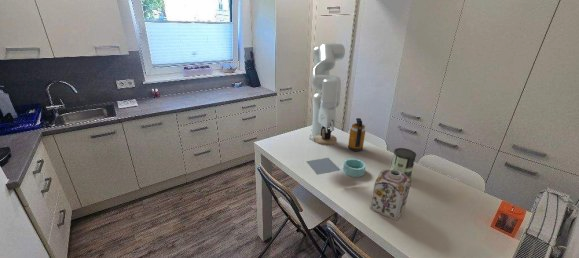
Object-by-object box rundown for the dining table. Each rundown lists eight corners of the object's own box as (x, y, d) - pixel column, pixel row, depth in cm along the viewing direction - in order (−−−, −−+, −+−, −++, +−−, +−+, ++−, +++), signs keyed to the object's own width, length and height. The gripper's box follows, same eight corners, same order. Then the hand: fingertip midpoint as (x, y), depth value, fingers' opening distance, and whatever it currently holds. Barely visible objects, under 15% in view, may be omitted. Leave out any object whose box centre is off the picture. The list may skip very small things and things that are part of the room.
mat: (306, 162, 141) (306, 161, 141) (328, 158, 146) (328, 157, 146) (317, 175, 129) (317, 174, 129) (340, 170, 134) (340, 169, 134)
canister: (361, 146, 162) (365, 117, 154) (364, 154, 152) (369, 123, 144) (347, 145, 163) (350, 116, 155) (349, 153, 153) (353, 122, 145)
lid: (309, 136, 135) (310, 126, 133) (329, 133, 139) (330, 124, 137) (320, 147, 125) (321, 136, 122) (340, 143, 129) (342, 132, 126)
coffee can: (407, 172, 134) (413, 148, 129) (412, 183, 125) (418, 158, 120) (387, 169, 136) (392, 146, 131) (390, 180, 127) (396, 156, 121)
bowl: (339, 168, 136) (339, 160, 134) (356, 165, 140) (357, 157, 138) (350, 179, 127) (351, 171, 125) (368, 175, 130) (369, 167, 128)
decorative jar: (379, 195, 115) (386, 161, 108) (405, 207, 109) (414, 171, 102) (368, 209, 107) (375, 173, 100) (396, 222, 100) (405, 184, 93)
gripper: (314, 99, 130) (312, 131, 137) (329, 110, 115) (326, 145, 123) (327, 98, 132) (324, 130, 140) (343, 108, 118) (339, 143, 125)
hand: (325, 136), depth 131 cm, fingers closed on lid, 3 cm apart
